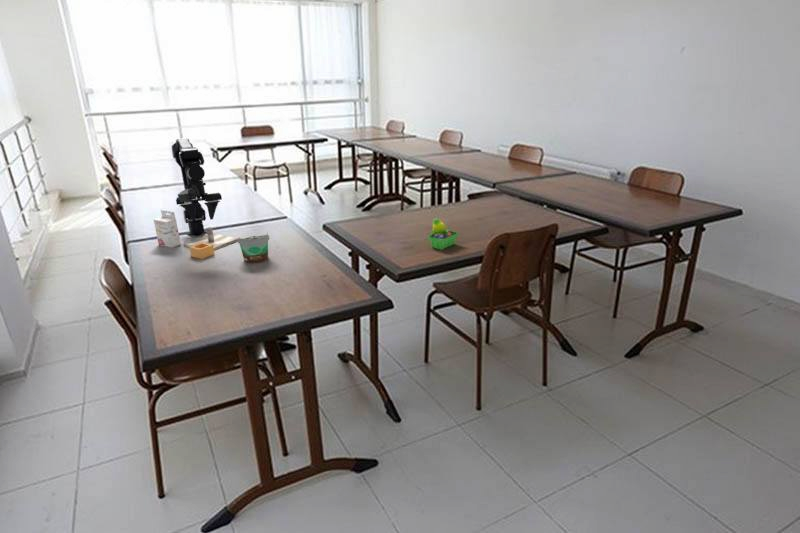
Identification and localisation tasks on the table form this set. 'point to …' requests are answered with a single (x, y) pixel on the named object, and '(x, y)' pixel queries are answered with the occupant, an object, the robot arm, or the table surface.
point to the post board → (215, 245)
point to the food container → (254, 248)
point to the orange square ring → (202, 250)
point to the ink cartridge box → (167, 229)
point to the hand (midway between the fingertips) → (202, 220)
